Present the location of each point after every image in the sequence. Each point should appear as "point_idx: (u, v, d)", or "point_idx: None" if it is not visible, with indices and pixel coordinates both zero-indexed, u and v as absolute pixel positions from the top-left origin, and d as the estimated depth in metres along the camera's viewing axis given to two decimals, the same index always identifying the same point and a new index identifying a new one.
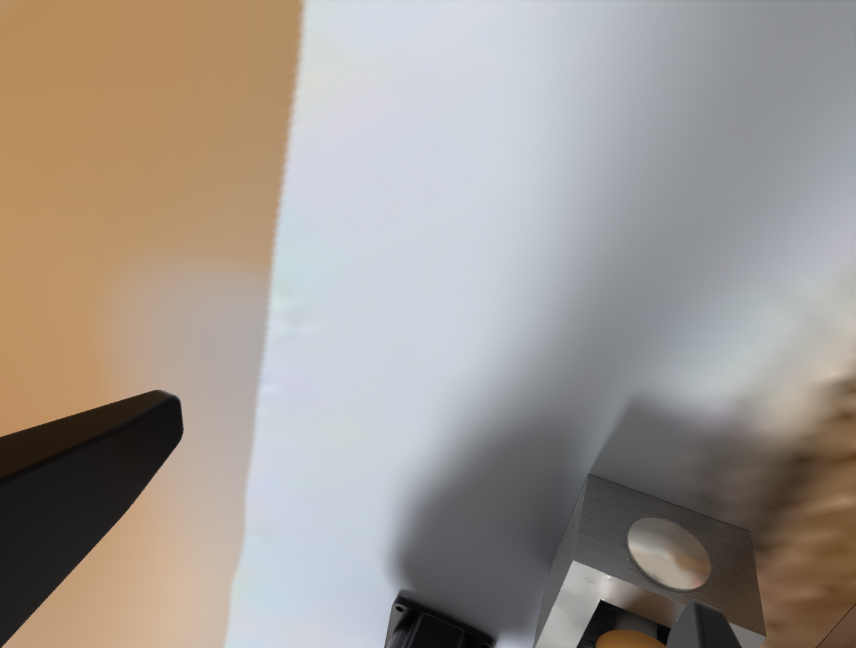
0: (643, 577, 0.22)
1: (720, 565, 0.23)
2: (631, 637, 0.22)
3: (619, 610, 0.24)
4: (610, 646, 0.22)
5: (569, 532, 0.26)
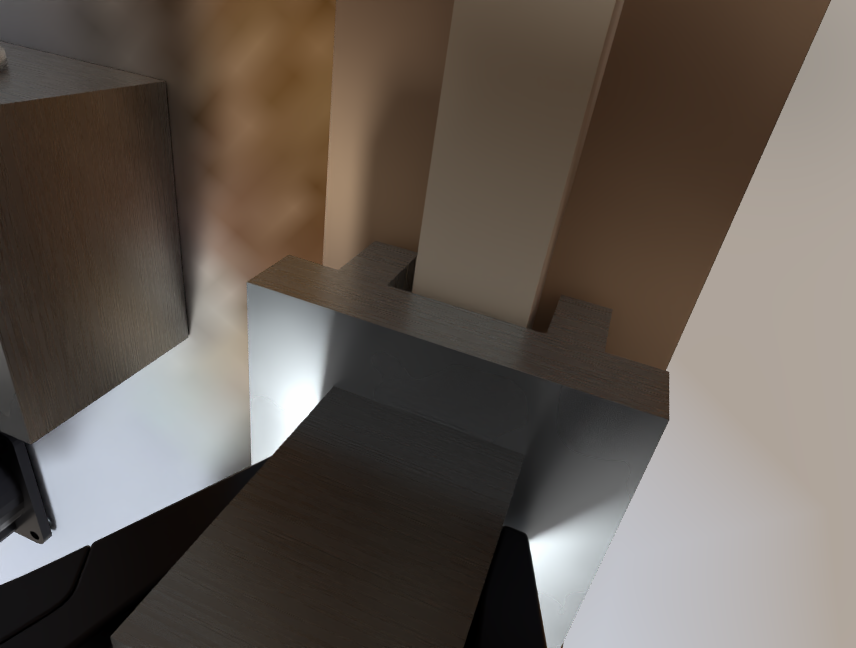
0: None
1: (16, 79, 0.11)
2: None
3: None
4: None
5: None
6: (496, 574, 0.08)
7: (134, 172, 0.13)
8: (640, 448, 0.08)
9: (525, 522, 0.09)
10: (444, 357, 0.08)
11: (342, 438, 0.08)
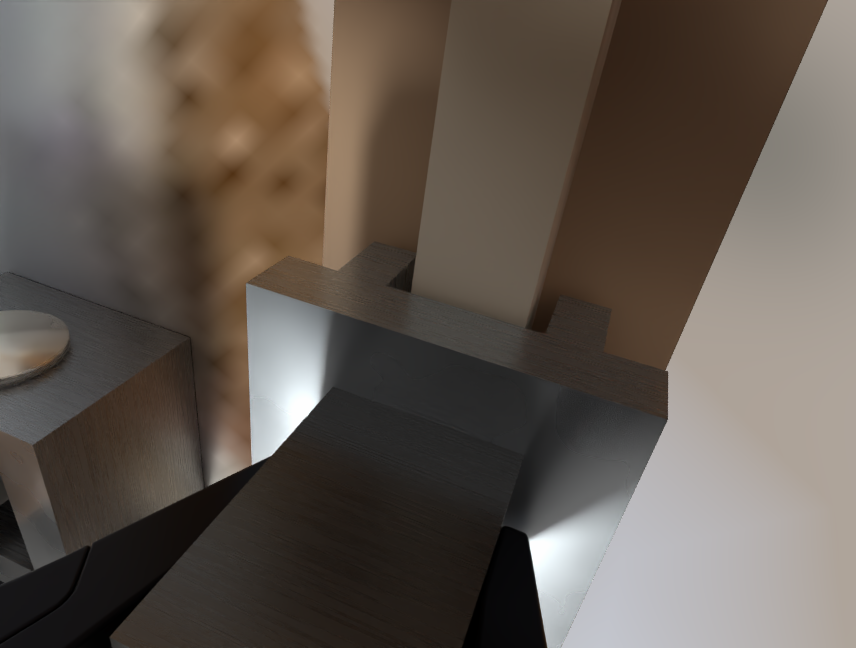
0: None
1: (80, 366, 0.15)
2: None
3: None
4: None
5: None
6: (496, 574, 0.08)
7: (165, 409, 0.17)
8: (639, 448, 0.08)
9: (525, 522, 0.09)
10: (443, 357, 0.08)
11: (342, 438, 0.08)
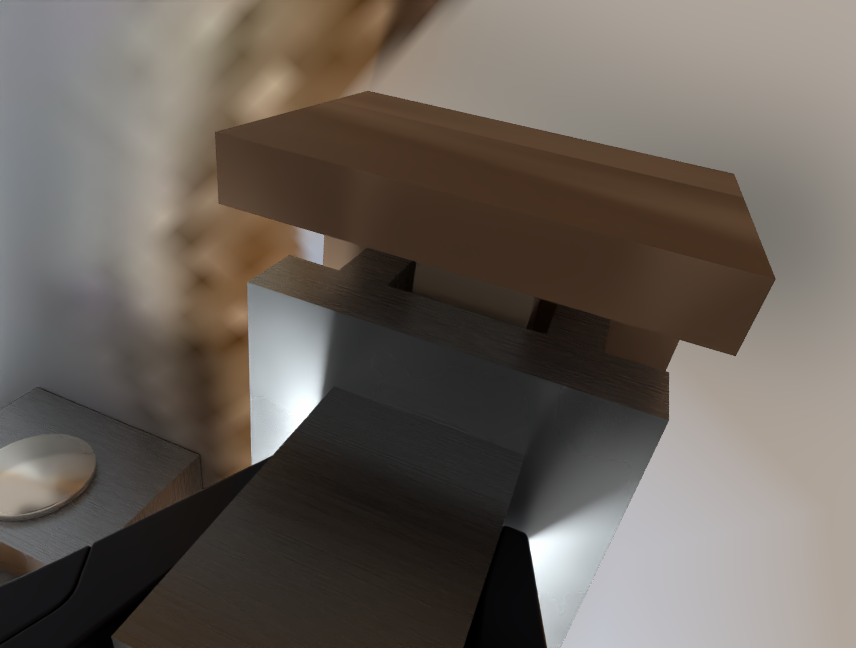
0: None
1: (106, 490, 0.17)
2: None
3: None
4: None
5: None
6: (496, 574, 0.08)
7: None
8: (640, 448, 0.08)
9: (525, 522, 0.09)
10: (444, 357, 0.08)
11: (343, 438, 0.08)
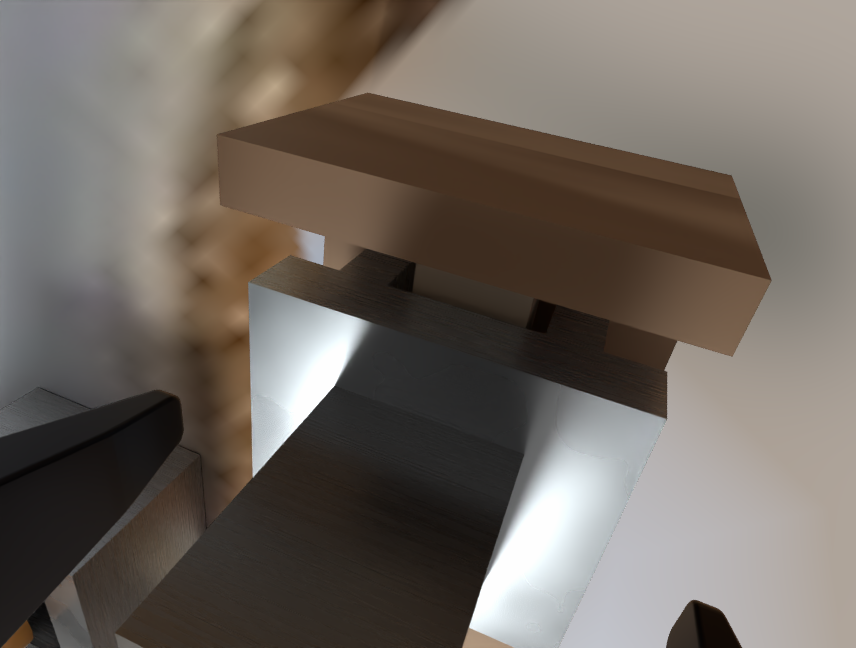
0: None
1: None
2: None
3: None
4: None
5: None
6: None
7: (179, 517, 0.19)
8: (638, 447, 0.08)
9: (524, 520, 0.09)
10: (444, 357, 0.08)
11: (344, 437, 0.08)
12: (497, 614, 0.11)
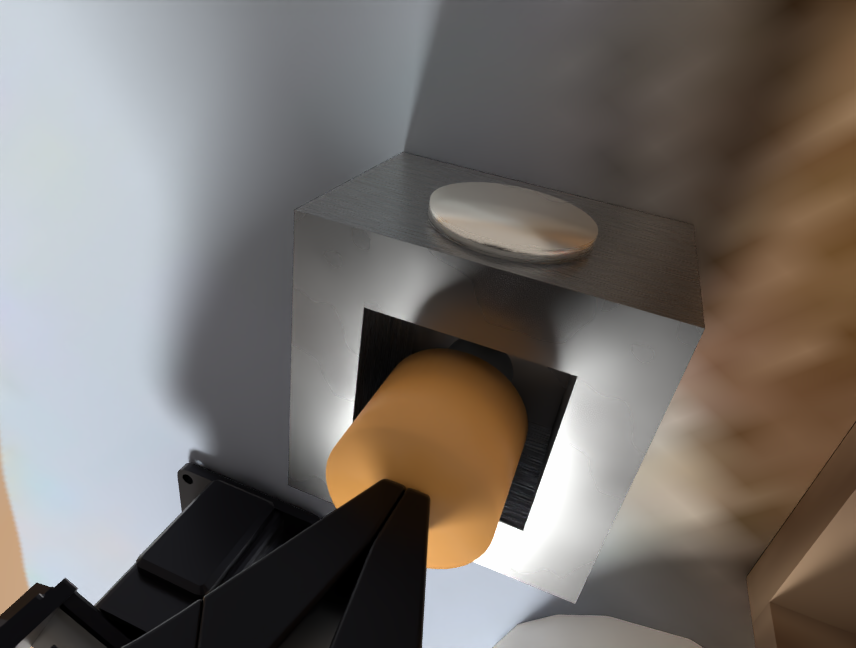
0: (443, 240, 0.10)
1: (622, 246, 0.11)
2: (432, 356, 0.11)
3: None
4: (390, 376, 0.11)
5: None
6: (388, 530, 0.08)
7: None
8: None
9: None
10: None
11: None
12: None
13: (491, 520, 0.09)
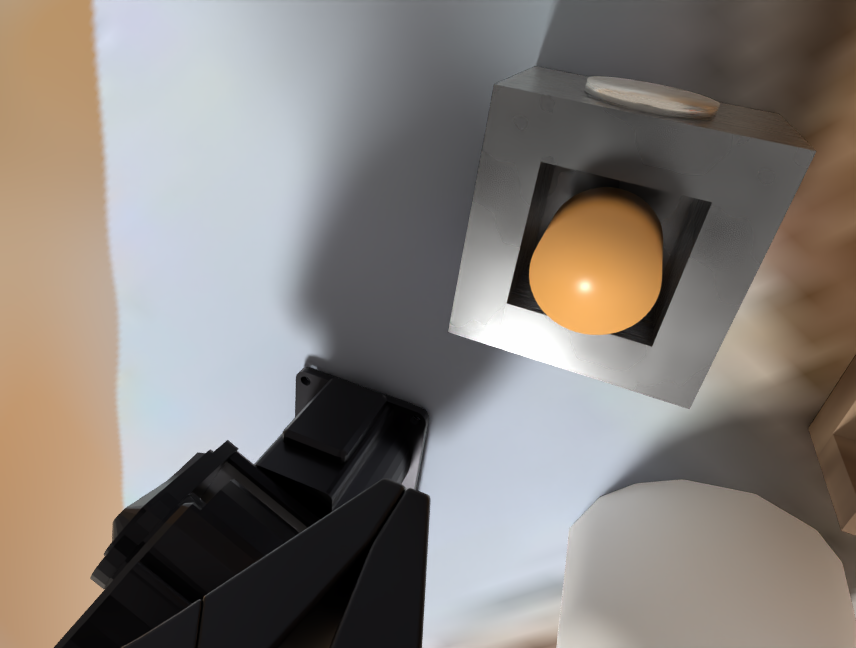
0: (608, 104, 0.13)
1: (734, 117, 0.14)
2: (596, 190, 0.15)
3: None
4: (564, 206, 0.15)
5: None
6: (389, 530, 0.08)
7: None
8: None
9: None
10: None
11: None
12: None
13: (658, 282, 0.13)
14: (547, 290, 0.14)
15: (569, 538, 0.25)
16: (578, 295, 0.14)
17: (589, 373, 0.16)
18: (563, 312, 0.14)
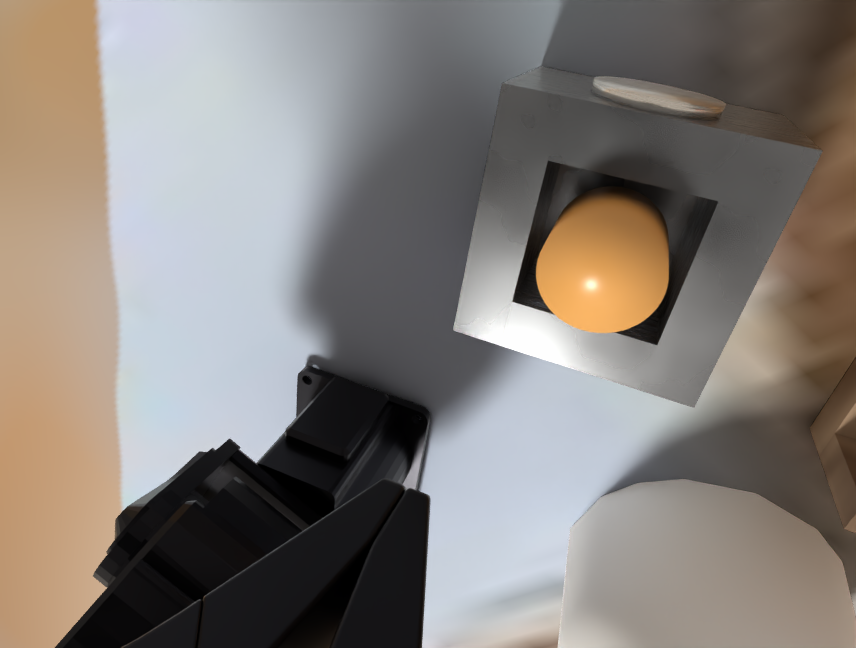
0: (616, 103, 0.13)
1: (740, 117, 0.14)
2: (602, 189, 0.15)
3: None
4: (571, 205, 0.15)
5: None
6: (389, 530, 0.08)
7: None
8: None
9: None
10: None
11: None
12: None
13: (665, 280, 0.13)
14: (554, 288, 0.14)
15: (570, 538, 0.25)
16: (584, 294, 0.14)
17: (594, 372, 0.16)
18: (569, 310, 0.14)
